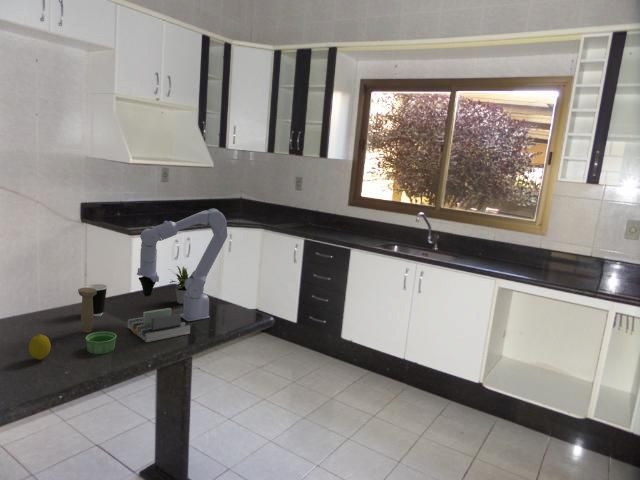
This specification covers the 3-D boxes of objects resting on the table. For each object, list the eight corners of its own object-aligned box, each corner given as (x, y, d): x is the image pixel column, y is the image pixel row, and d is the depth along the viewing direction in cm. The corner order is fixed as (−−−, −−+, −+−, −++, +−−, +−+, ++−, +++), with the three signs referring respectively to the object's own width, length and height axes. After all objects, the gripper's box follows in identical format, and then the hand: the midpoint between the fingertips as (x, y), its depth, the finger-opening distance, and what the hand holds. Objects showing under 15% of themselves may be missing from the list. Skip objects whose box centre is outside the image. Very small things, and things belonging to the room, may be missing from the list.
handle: (86, 335, 159) (86, 293, 157) (75, 330, 163) (75, 289, 160) (99, 332, 164) (99, 290, 161) (87, 327, 167) (88, 286, 164)
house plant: (157, 300, 203) (158, 263, 200) (184, 295, 214) (186, 260, 211) (176, 309, 194) (177, 270, 191) (203, 303, 205) (205, 266, 202)
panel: (169, 323, 175) (169, 307, 174) (171, 324, 174) (171, 309, 173) (142, 327, 168) (143, 311, 167) (144, 329, 167) (145, 313, 166)
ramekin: (82, 355, 145) (82, 342, 144) (88, 344, 153) (88, 331, 153) (114, 354, 147) (114, 341, 147) (117, 343, 156) (118, 331, 155)
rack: (169, 320, 181) (170, 302, 180) (189, 333, 169) (190, 315, 168) (127, 327, 170) (127, 309, 169) (145, 342, 158) (146, 322, 157)
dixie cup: (80, 316, 176) (80, 288, 174) (91, 310, 184) (91, 283, 182) (100, 318, 176) (101, 290, 174) (111, 312, 184) (111, 285, 182)
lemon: (35, 355, 142) (34, 330, 141) (54, 356, 142) (54, 331, 141) (25, 363, 136) (24, 337, 135) (45, 364, 137) (44, 338, 136)
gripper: (130, 257, 178) (129, 292, 180) (145, 266, 168) (144, 302, 170) (148, 256, 183) (147, 289, 185) (164, 264, 173) (163, 299, 175)
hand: (147, 295), depth 178 cm, fingers closed
